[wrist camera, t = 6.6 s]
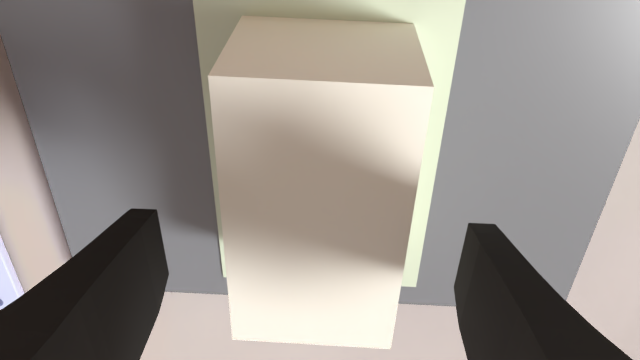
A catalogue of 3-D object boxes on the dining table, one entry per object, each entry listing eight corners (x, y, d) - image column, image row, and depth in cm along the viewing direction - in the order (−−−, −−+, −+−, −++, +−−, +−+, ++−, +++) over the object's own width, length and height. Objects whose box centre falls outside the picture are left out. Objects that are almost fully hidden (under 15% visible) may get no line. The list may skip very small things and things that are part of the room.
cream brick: (253, 246, 18) (232, 339, 15) (241, 15, 14) (207, 75, 11) (383, 253, 18) (390, 349, 15) (414, 23, 14) (434, 86, 10)
